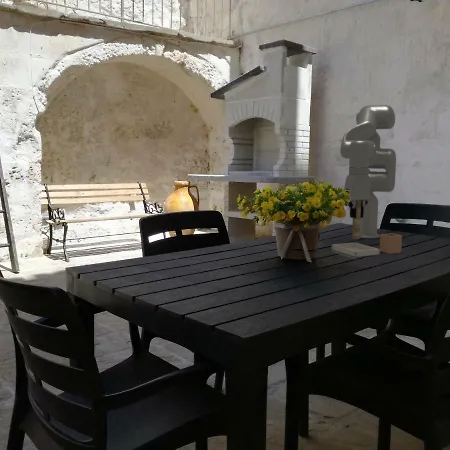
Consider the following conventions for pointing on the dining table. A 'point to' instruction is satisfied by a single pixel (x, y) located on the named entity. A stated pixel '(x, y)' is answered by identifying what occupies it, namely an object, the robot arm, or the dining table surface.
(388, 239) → the terracotta cup
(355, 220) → the beech dowel
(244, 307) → the dining table surface
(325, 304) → the dining table surface
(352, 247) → the plastic tray
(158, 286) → the dining table surface
